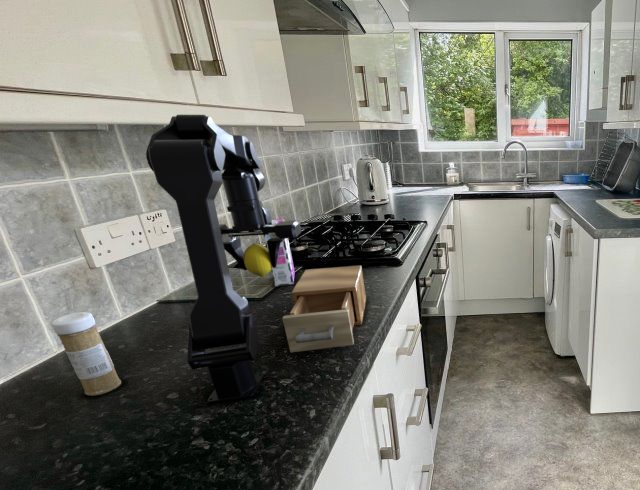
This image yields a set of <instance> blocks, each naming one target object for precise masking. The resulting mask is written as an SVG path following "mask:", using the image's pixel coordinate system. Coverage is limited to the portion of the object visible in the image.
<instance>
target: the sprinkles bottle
mask: <svg viewBox="0 0 640 490" xmlns="http://www.w3.org/2000/svg"><path fill="white" fill-rule="evenodd" d="M50 325H51V328H52V330H53V331H54V334H55V335H57V337H58V338H59V340H60V342H61V344H62V346H63V348H64V352H65V353H66V356H67V357H68V360H69V362H70V364H71V365H72V368H73V370H74V372H75V374H76V376H77V379H79V381H80V383H81V386H82V388H83V390H84V394H85V395H86V396H88V397H90V396H91V397H92V396H95V397H96V396H100V395H105V394H107V393H109V392H112V391H114V390H116V389H117V388H118V387H120V386H121V384H122V380H121V379H120V378H119V376H118V373H117V370H116V369H115V365H114V363H113V361H112V359H111V356H110V354H109V352H108V349H107V348H106V346H105V343H104V342H103V339H102V336H101V335H100V333H99V331H98V329H97V324H96V320H95V318H94V316H93V314H92V313H91V312H89V311H81V312H80V311H79V312H73V313H69V314H64V315H62V316H60V317H57V318H55V319H54V320H53V321H52V322H51V323H50Z"/></svg>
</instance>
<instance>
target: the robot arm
mask: <svg viewBox="0 0 640 490" xmlns="http://www.w3.org/2000/svg"><path fill="white" fill-rule="evenodd" d="M255 149H256V148H255V147H254V144H253V142H252V141H249V139H248V138H247V136H245V135H239V134H230V133H229V132H226V131H225V130H224V129H223V128H221V127H220V126H218V125H217V124H216V123H215V122H214V120H213V118H212V117H211V116H208V115H206V114H176V115H174V116H171V118H170V121H169V123H168V124H167V125H165V126H164V127H162V128H161V129H159V130H157V131H156V132H154V133H152V135H150V139H149V142H148V145H147V147H146V152H145V156H146V157H145V158H146V161H147V165H148V166H149V168H150V170H151V172H152V173H153V174H154V177H155V180H156V183H157V185H159V186H160V187H161V188H162V189H163V190H164V191H165V192H166V193H167V194H168V195H169V197H171V198H172V200H174V201H175V203H176V208H177V212H178V216H179V222H180V225H181V230H182V233H183V238H184V242H185V246H186V251H187V255H188V258H189V265H190V268H191V271H192V272H191V273H192V277H193V281H194V284H195V289H196V294H197V298H196V300H195V302H194V304H193V306H192V309H191V310H190V312H189V315H188V318H189V325H188V331H187V359H186V360H187V364H188V365H189V367H190V368H191V370H192V371H195V370H198V369H203V368H207V369H208V373H209V376H210V379H211V382H212V385H213V388H214V390H213V391H212V393H211V394H210V396H209V398H208V399H207V403H208V404H216V403H217V404H218V403H225V402H230V401H238V400H244V399H251V398H254V396H255V394H256V393H257V390H258V388H259V386H260V384H261V382H262V381H263V379H264V376H265V375H264V373H256V374H255V371H254V368H253V365H252V361H254V360H255V358H256V356H257V354H258V351H259V349H260V340H259V335H258V328H257V322H256V318H255V316H254V314H251V311H250V306H249V301H248V299H247V298H246V297H245V296H240V294H238V293H237V292H236V291H235V290H234V287H233V283H232V279H231V278H232V277H231V273H230V269H229V264H228V260H227V254H226V253H228V254H229V255H230V256H231V257H232V258H233V260H235V262H237V264H238V265H239V266H240V267H241V268H242V270H243V271H248V270H247V268H246V266H245V263H244V250H243V247H242V241H241V239H242V238H241V237H251V236H253V237H254V236H264V235H269V236H270V239H269V240H268V241H267V245H268V250H269V255H270V260H271V264H272V266H273V268H276V265H277V258H278V252H279V247H280V244H281V242H283V241H284V240H285V239H286V238H288V239H295V238H297V237H298V236H299V235H300V234H301V233H302V227H301V224H300V222H299V221H298V220H284V221H280V222H279V223H277V224H276V225H275V226H265V225H272V220H273V219H272V211H271V210H269V209H267V208H265V207H264V205H263V202H262V200H260V196H259V192H260V191H262V189H264V187H265V184H266V178H265V176H264V175H263V173H262V172H261V171H260V170H261V169H262V164H261V162H260V159H259V157H258V154H257V151H256V150H255ZM222 171H223V172H222ZM222 185H223V188H224V193H225V197H226V200H227V204H228V206H226V209H227V212H228V213H230V215H231V220H232V224H233V225H232V227H229V226H228V225H227V224H226V223H223V224H220V222H219V218H218V213H217V212H218V211H217V208H216V203H215V202H216V201H215V199H216V197H217V195H218V193H219V191H220V189H221V187H222ZM244 344H245V345H244ZM237 345H240V346H237ZM231 346H233V347H231ZM224 347H226V348H224ZM218 348H220V349H218ZM209 349H212V350H209ZM213 349H214V350H213Z"/></svg>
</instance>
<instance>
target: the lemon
mask: <svg viewBox="0 0 640 490" xmlns="http://www.w3.org/2000/svg"><path fill="white" fill-rule="evenodd" d="M243 253H244V263H245V266H246V268H247V270H246V271H248V272H249V273H251V274H252V275H255V276H259V277H260V278H264V277H265V276H267V274H269V273H270V272H272V271H271V269H272V267H273V266H272V264H271V260H270V255H269V250H268V249H267V248H266V246H265V245H262V244H259V243H257V242H254V243H252V244H250V245H249V246H248V247H246V249H245V250H244V251H243Z"/></svg>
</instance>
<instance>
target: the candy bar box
mask: <svg viewBox="0 0 640 490" xmlns="http://www.w3.org/2000/svg"><path fill="white" fill-rule="evenodd" d="M280 221H285V218H278V219H277V218H276V219H272V225H265V226H275V225H276V224H277V223H279V222H280ZM263 239H264V240H263V241H264V244H265V247H266V248H267V249H268V245H267V241H268V240H269V239H270V236H269V235H263ZM270 272H271V275H272V279H273V284H274V287H282V286H291V285H294V284H295V274H296V272H295V267H294V261H293V256H292V251H291V247H290V242H289V238H286V239H285V240H284V241H283V242H281V244H280V247H279V252H278V258H277V265H276V268H273V267H272V269H271V271H270Z"/></svg>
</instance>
